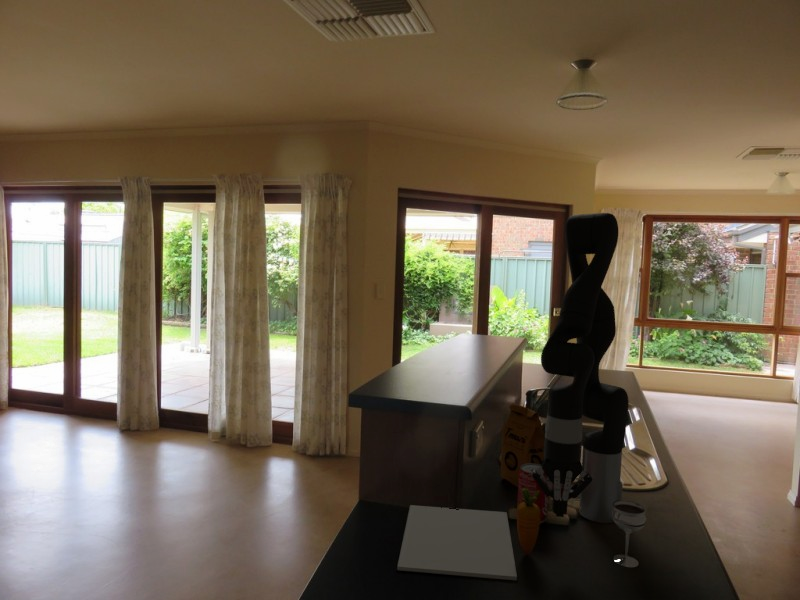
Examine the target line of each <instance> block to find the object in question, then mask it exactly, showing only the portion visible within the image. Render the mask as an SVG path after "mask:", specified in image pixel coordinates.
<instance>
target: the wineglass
mask: <svg viewBox="0 0 800 600" xmlns="http://www.w3.org/2000/svg"><path fill="white" fill-rule="evenodd" d="M613 506H614V509H613V511H612V518H613V520H614V522H613V523H614V524H615V525H616V526H617V527H618V528H619V529H620V530H623V532H624V533H625V546H624V547H625V548H624V549H625V554H616V555H614V556H613V560H614V562H615V563H616V564H618V565H620V566H623V567H626V568H636V567H638V566H639V562H638V560H637V559H636V558H635V557H633V556H630V555H628V552H629V542H630V534H632V533H635V532H639V530H642V529H643V528H644V527H645V525H646V523H647V522H646V521H647V517H646V516H647V515H646V514H645V513H646V512H647V508H646V507H645V505H643V504H641V503H639V502H636V501H633V500H627V499H622V500H618V501H615V502H613Z"/></svg>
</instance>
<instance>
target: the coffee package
mask: <svg viewBox="0 0 800 600" xmlns="http://www.w3.org/2000/svg"><path fill="white" fill-rule="evenodd" d="M508 407H509V411H510V412H509V414H508V416H507V418H506V421H505V423H504V426H503V428H502V430H501V446H500V447H501V455H500V478H502V479H504V480H506V482H509V483H510V484H512V485H513V486H514V487H515V488H516V487H517V488H518V475H519V471H520V469H521V465H523V464H527V463H534V464H539V465H541V462H542V461H543V459H544V445H545V431H544V429H543V425H542V422H541V419H540V416H539V413H538V412H537V411H535V410H532V409H530V408H528V407H525V406H523V405H520V404H516V403H511V404H510V405H509V406H508Z"/></svg>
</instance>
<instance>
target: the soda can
mask: <svg viewBox="0 0 800 600" xmlns="http://www.w3.org/2000/svg"><path fill="white" fill-rule="evenodd" d="M540 466H541V465H539V464H534V463H527V464H523V465H521V469H520V471H519V475H518V487H517V506H516V507H518V505H520V504H521V503H523V502H524V501H523V500H522V498H524V496H523V493H522V489H523V488H525V490H526V489H528V490H529V492H530V495H531V498H533V496H534V494H535V492H536V491H537V490H539V491H540V493H539V494H538V496H537V500H535V501H534V504H536V505H537V506H538V507H539V509H540V525H542V524H543V523H544V522H545V521H546V520H547V518H548V498H549V497H547V496H546V495H545V493H544V492H543V490H542V489H541V488H540V486H539V485H538V484H537V482H536V481H535V480H534V478H533V476H532V473H531V470H532V469H537V468H539V467H540ZM543 476H544V477H543V478H542V479H543V480H544V481H545V483H546V484H547V485H548V486H549V478H548V477H547V475H546V474H545V472H544V471H543ZM527 496H528V495H527ZM528 500H529V499H528ZM531 501H532V499H531Z"/></svg>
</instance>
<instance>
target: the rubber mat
mask: <svg viewBox="0 0 800 600" xmlns="http://www.w3.org/2000/svg"><path fill="white" fill-rule="evenodd" d="M449 508H450V507H442V508H441V506H429V505H427V506H425V505H414V504H413V505H412V504H410V506H409V508H408V509H409V510H408V514H407V518H406V524H405V528H404V532H403V539H402V543H401V548H400V551H399V552H400V553H399V558H398V561H397V566H396V567H397V571H404V572H415V573H425V574H426V573H427V574H437V575H449V576H460V577H472V578H473V577H474V578H484V579H497V580H507V581H517V579H518V575H517V570H516V562H515V556H514V550H513V545H512V538H511V531H510V526H509V525H510V524H509V520H508V519H509V518H508V512H507V511H506V512H505V511H495V510H480V509H469V508H468V509H467V508H458V509H459V510H456V509H457V508H456V509H449Z"/></svg>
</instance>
